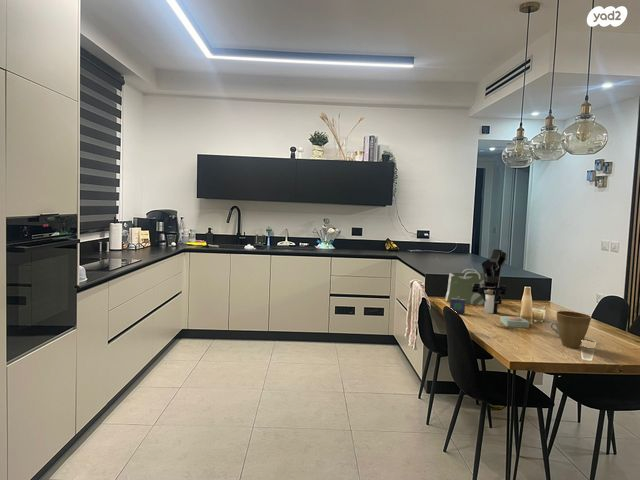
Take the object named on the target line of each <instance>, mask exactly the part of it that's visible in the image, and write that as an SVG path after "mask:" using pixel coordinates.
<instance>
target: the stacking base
mask: <svg viewBox="0 0 640 480" xmlns="http://www.w3.org/2000/svg"><path fill="white" fill-rule="evenodd" d="M521 317H522V316H511V315H510V316H507V315H500V317H499V318H500V319H499V320H500V322H501V323H502V324H504V325H505V326H506V327H511V328H512V327H513V328H525V329H526V328H527V329H528V328H530V323H531V322H530V321H528V320H527V319H525V318H524V319H522V318H523V317H522V318H521Z"/></svg>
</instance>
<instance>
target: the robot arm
mask: <svg viewBox="0 0 640 480" xmlns="http://www.w3.org/2000/svg"><path fill="white" fill-rule="evenodd" d="M507 259H508V255H507V253H506V252H504V251H503V250H502V249H496V248H495V249H493V250H492V253H491V256H490V258H488V259H486V260H485V261H483V262H482V263H481V269H482V273H484V286H483V285H480V284H478V283H473V285H472V292H478V294H480V295H481V296H482V298H483V300H484V301H485V293H484V290H488V289H492V290H493V295H495V298H494V310H493V313H492V314H495V315H496V314H498V315H499V314H500V312H498V311H499V305H502V302H503V301H502V300H503V299H502V295H503V296H505V295H507V292H508V286H507V285H500V280H501V273H502V267H503V266H504V265H505V264H506V261H507ZM486 294H487V293H486Z"/></svg>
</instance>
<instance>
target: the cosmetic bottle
mask: <svg viewBox="0 0 640 480" xmlns="http://www.w3.org/2000/svg"><path fill="white" fill-rule="evenodd" d="M494 298H495V295H493V290H492V289H488V291H487V294H485V305H483V306H484V307H483V312H484V313H486V314H494V313H493V310H494Z"/></svg>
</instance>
